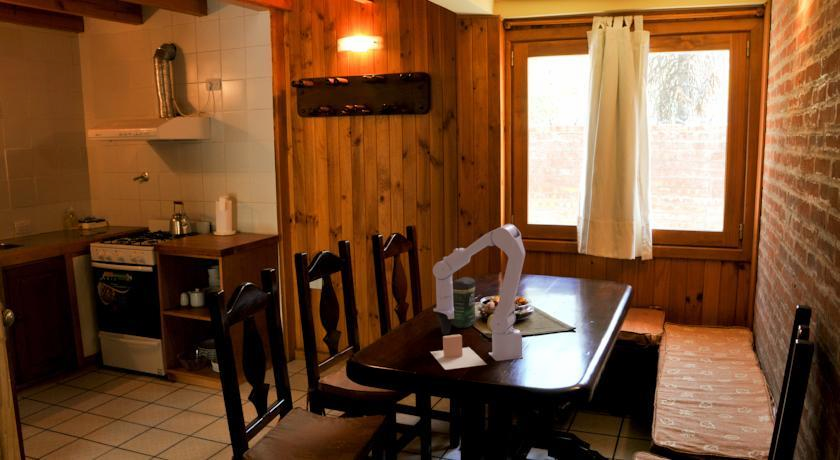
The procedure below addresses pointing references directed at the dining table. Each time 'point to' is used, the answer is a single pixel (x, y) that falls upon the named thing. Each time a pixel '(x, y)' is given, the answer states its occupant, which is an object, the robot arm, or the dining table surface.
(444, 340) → the tile
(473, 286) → the coffee jar
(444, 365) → the mat
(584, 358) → the dining table surface
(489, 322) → the lemon
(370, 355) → the dining table surface
